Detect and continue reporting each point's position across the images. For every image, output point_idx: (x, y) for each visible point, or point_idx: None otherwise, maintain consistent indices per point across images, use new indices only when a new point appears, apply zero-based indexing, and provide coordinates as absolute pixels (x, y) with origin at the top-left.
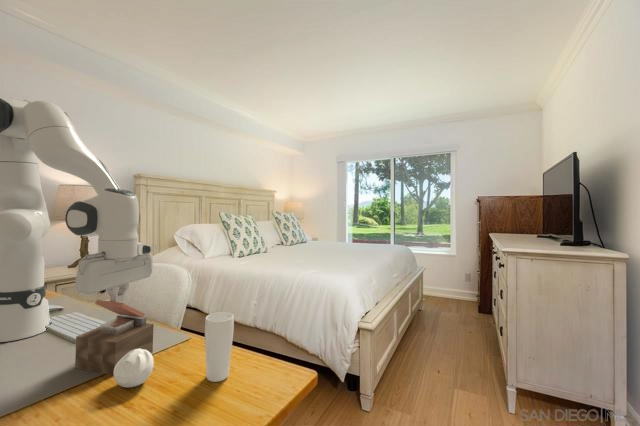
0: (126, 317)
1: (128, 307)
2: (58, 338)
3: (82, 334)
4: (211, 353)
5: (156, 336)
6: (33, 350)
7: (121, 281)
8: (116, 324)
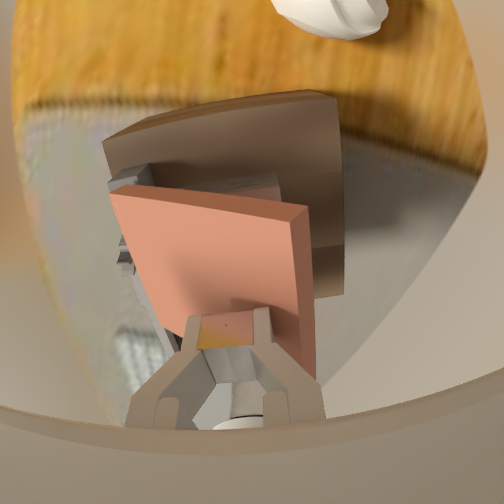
0: None
1: (223, 203)
2: (234, 387)
3: (324, 293)
4: None
5: (77, 213)
6: None
7: (240, 468)
8: None
